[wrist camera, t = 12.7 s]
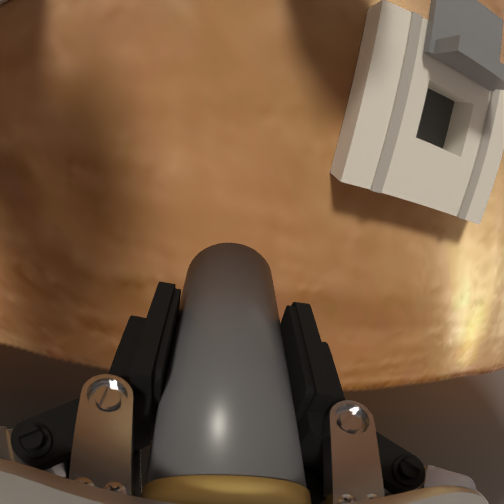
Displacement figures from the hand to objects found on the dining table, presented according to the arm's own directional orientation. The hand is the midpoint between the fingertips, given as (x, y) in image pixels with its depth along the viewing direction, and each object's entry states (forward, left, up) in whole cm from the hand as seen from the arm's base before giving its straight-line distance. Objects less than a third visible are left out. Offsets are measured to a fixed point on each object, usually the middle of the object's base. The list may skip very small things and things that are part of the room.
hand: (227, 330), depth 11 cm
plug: (0, 0, -3) cm, 3 cm away
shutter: (+14, +18, -12) cm, 26 cm away
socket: (+14, +11, -15) cm, 23 cm away
